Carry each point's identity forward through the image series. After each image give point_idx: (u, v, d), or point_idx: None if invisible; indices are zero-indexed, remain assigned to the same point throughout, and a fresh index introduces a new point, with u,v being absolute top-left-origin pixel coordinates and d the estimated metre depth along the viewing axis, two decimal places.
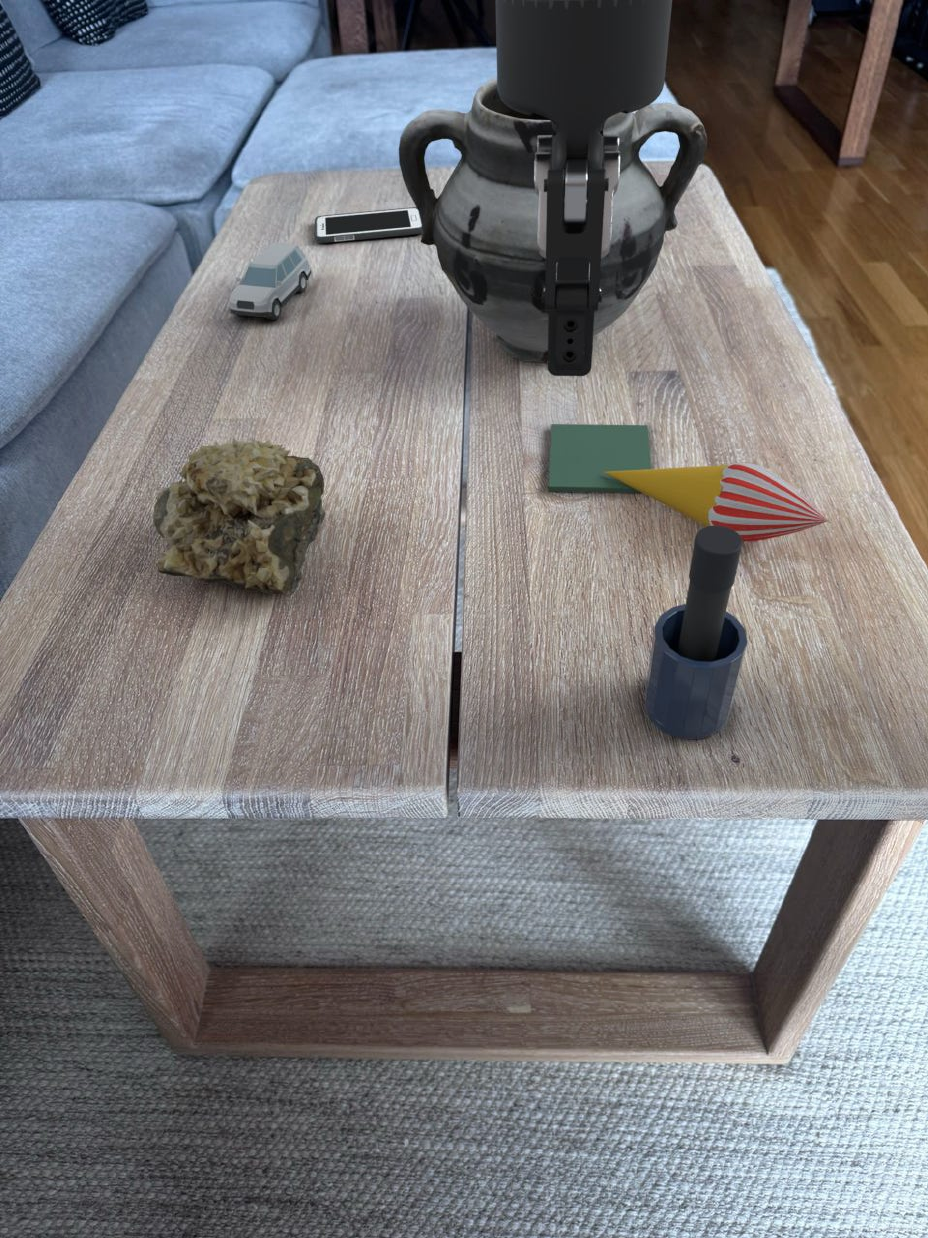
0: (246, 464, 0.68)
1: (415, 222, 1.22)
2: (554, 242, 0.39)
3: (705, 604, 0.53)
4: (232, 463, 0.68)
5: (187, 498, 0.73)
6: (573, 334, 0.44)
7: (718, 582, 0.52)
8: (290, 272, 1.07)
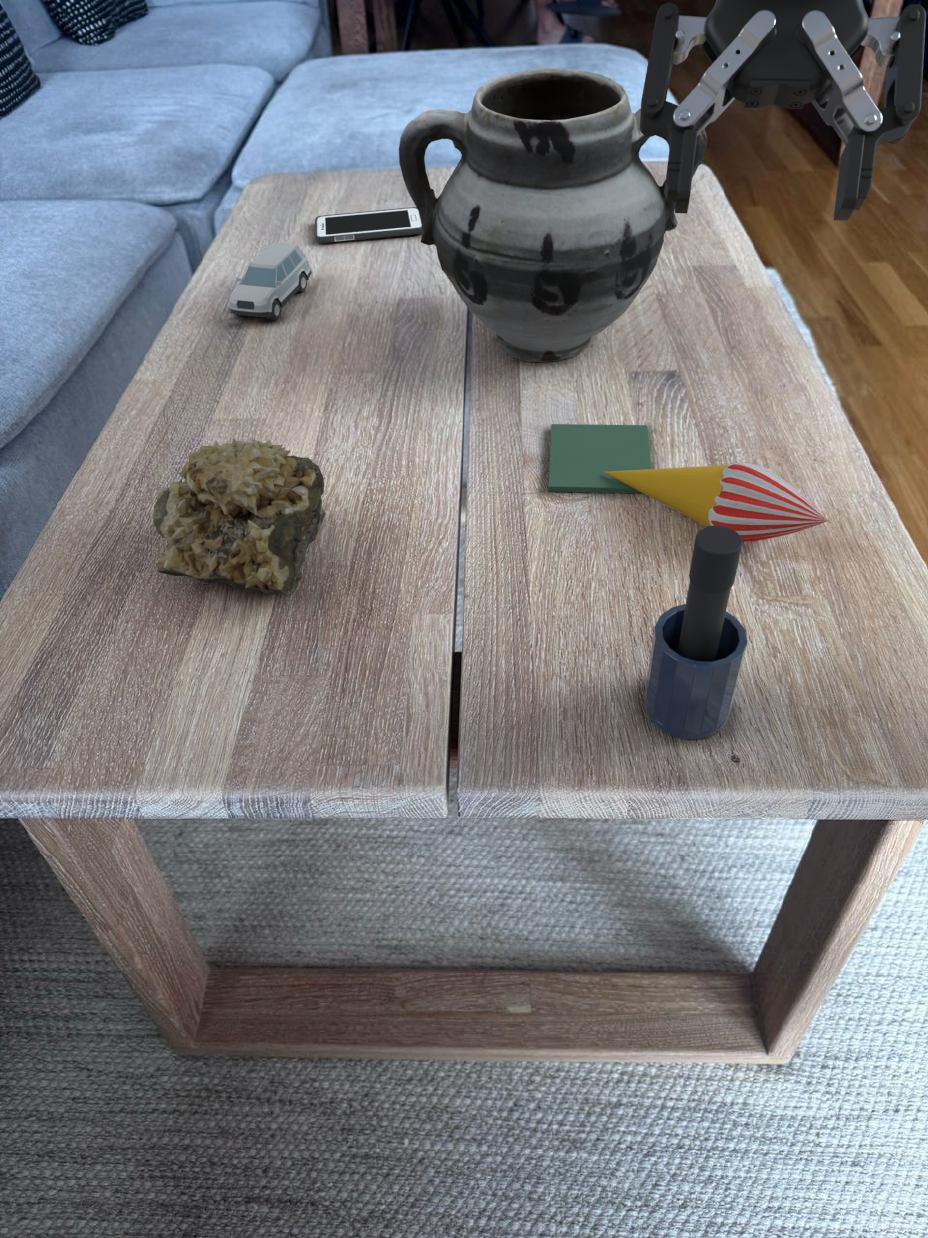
0: (246, 464, 0.68)
1: (415, 222, 1.22)
2: None
3: (705, 604, 0.53)
4: (232, 463, 0.68)
5: (187, 498, 0.73)
6: None
7: (718, 582, 0.52)
8: (290, 272, 1.07)
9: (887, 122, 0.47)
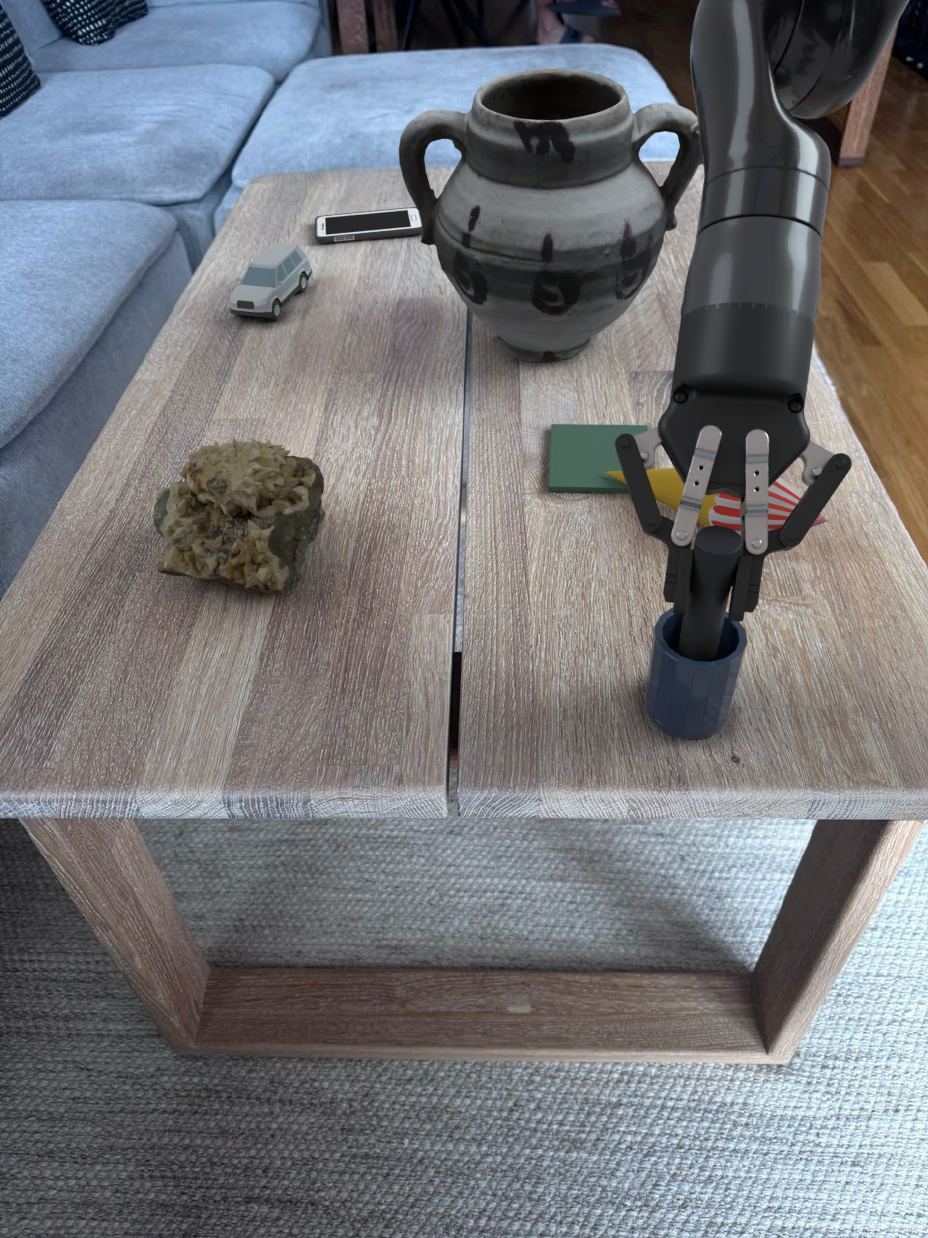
0: (246, 464, 0.68)
1: (415, 222, 1.22)
2: None
3: (705, 604, 0.53)
4: (232, 463, 0.68)
5: (187, 498, 0.73)
6: None
7: (718, 582, 0.52)
8: (290, 272, 1.07)
9: (773, 543, 0.51)
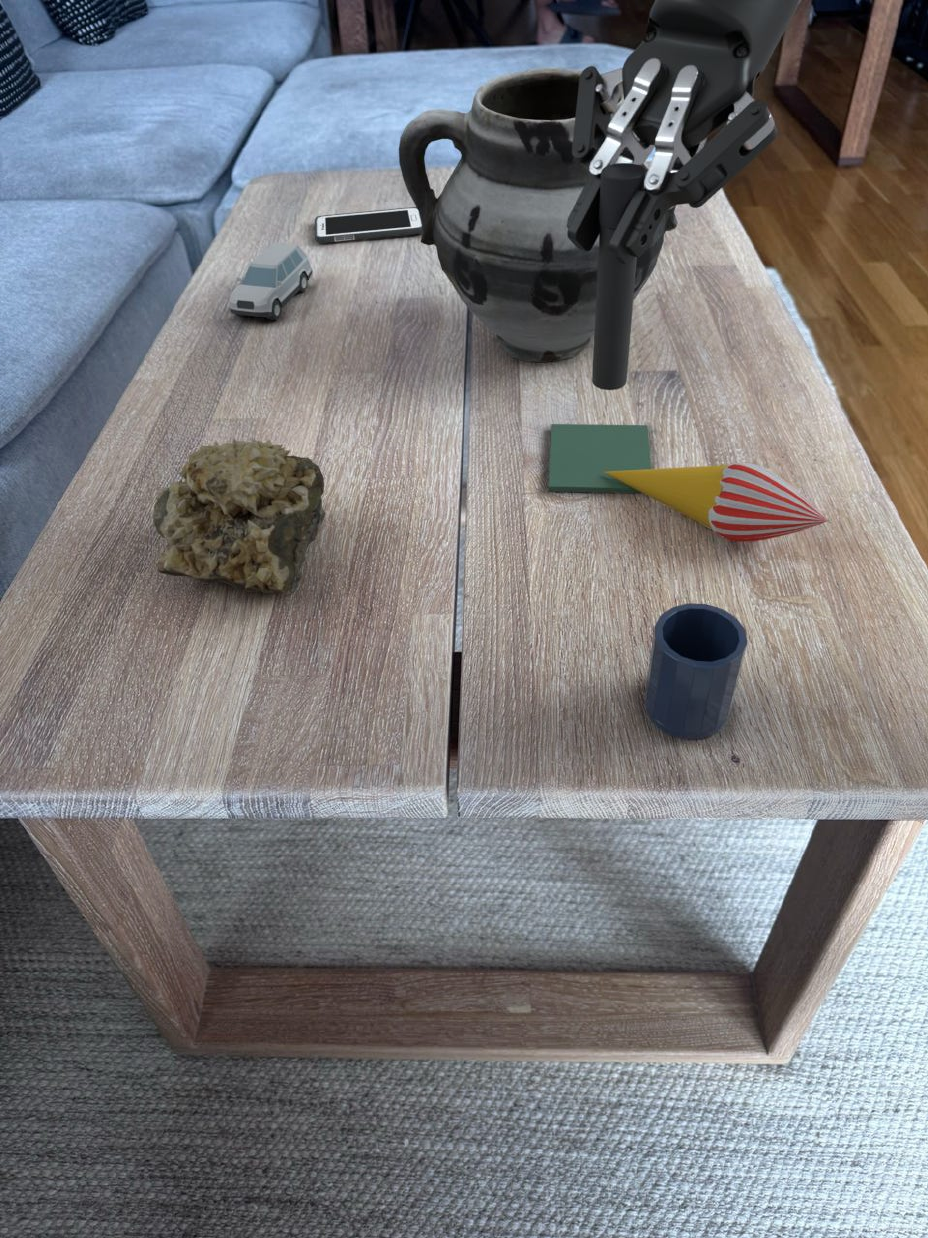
0: (246, 464, 0.68)
1: (415, 222, 1.22)
2: None
3: (604, 243, 0.56)
4: (232, 463, 0.68)
5: (187, 498, 0.73)
6: None
7: (612, 215, 0.54)
8: (291, 272, 1.07)
9: (671, 185, 0.52)
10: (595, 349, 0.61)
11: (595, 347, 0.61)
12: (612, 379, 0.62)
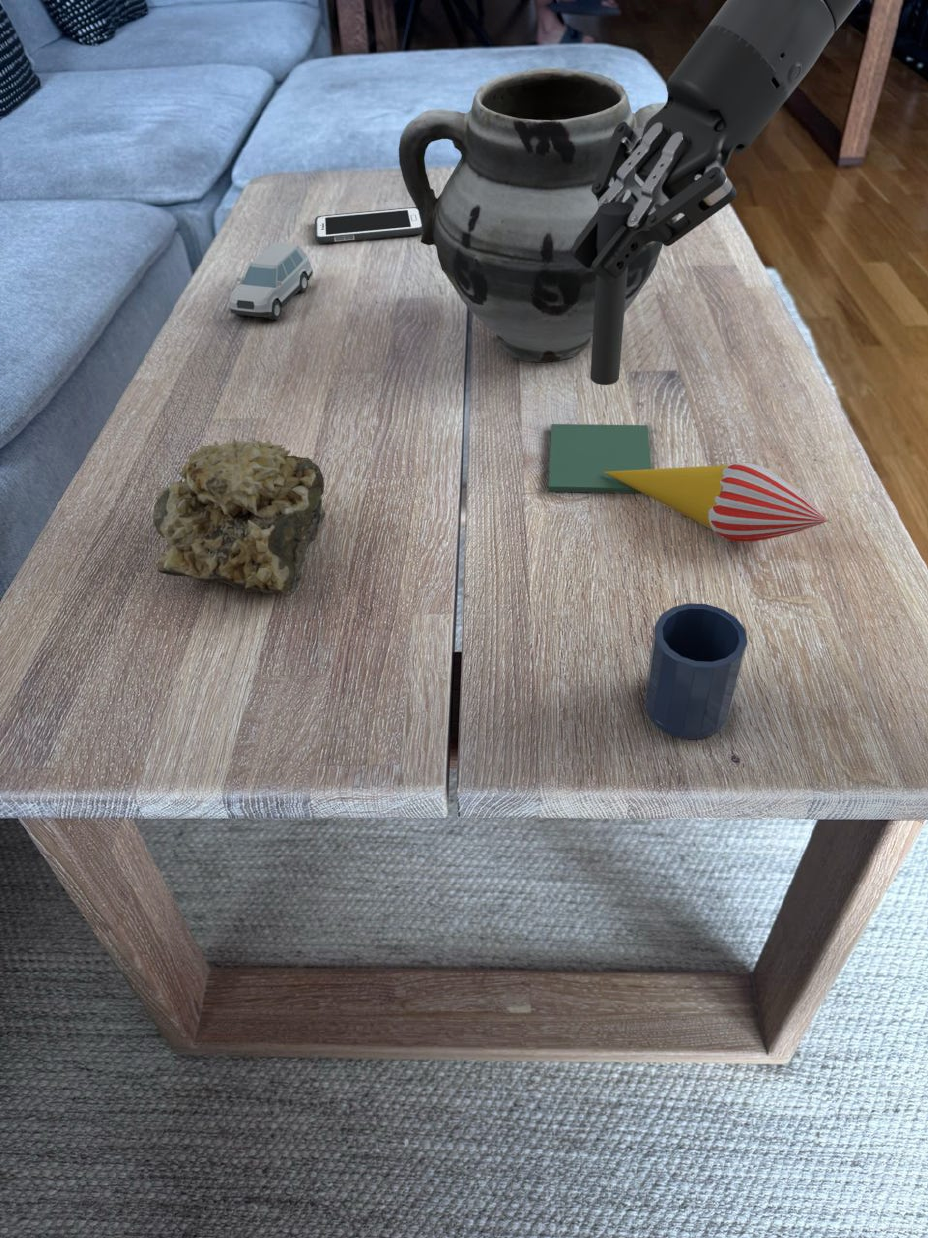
0: (246, 464, 0.68)
1: (415, 222, 1.22)
2: None
3: None
4: (232, 463, 0.68)
5: (187, 498, 0.73)
6: None
7: (602, 241, 0.68)
8: (291, 272, 1.07)
9: (646, 225, 0.65)
10: (592, 348, 0.75)
11: (592, 347, 0.75)
12: (602, 376, 0.75)
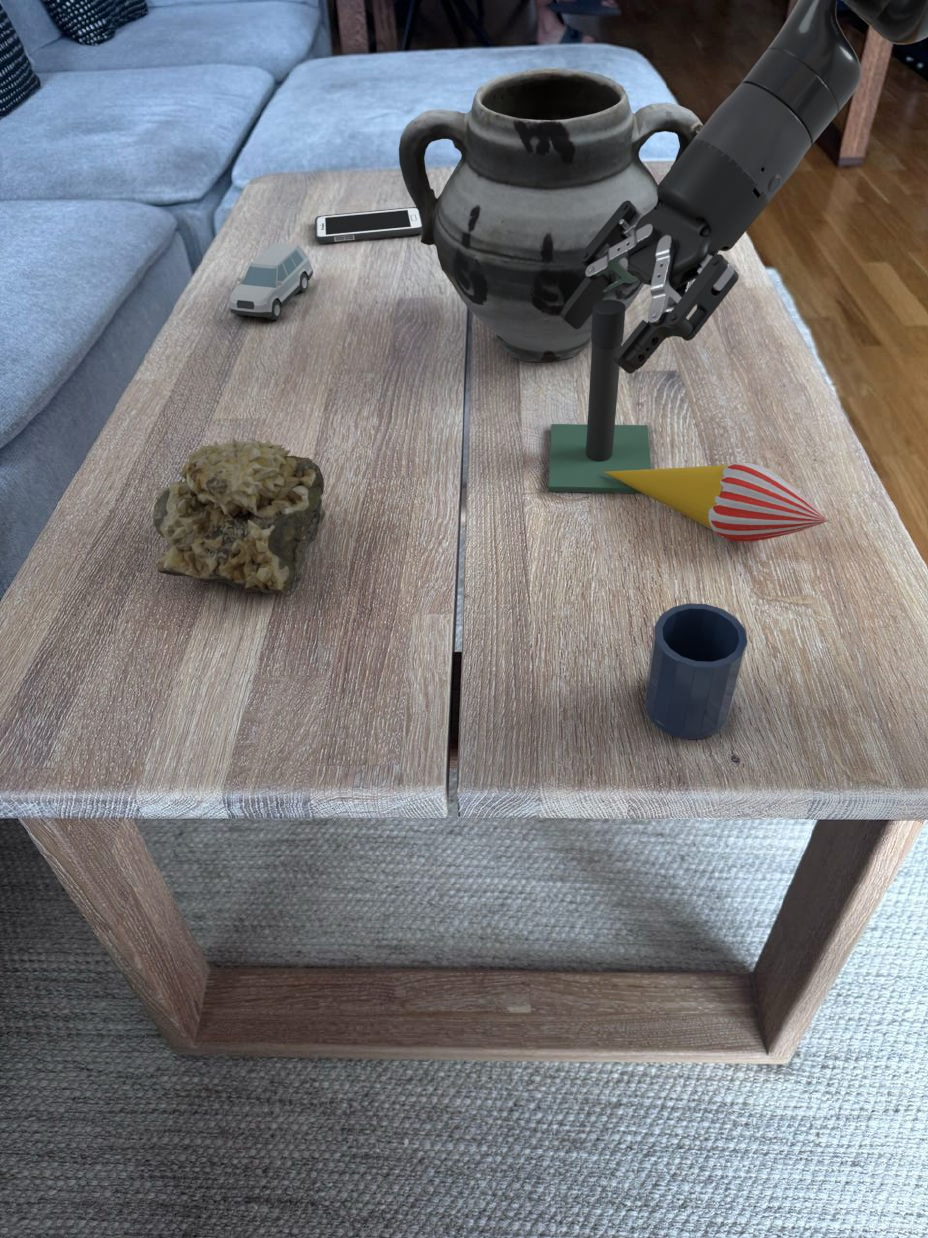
0: (246, 464, 0.68)
1: (415, 222, 1.22)
2: None
3: (592, 355, 0.75)
4: (232, 463, 0.68)
5: (187, 498, 0.73)
6: None
7: (596, 336, 0.73)
8: (291, 272, 1.07)
9: (666, 321, 0.68)
10: (587, 428, 0.80)
11: (587, 427, 0.80)
12: (596, 453, 0.81)
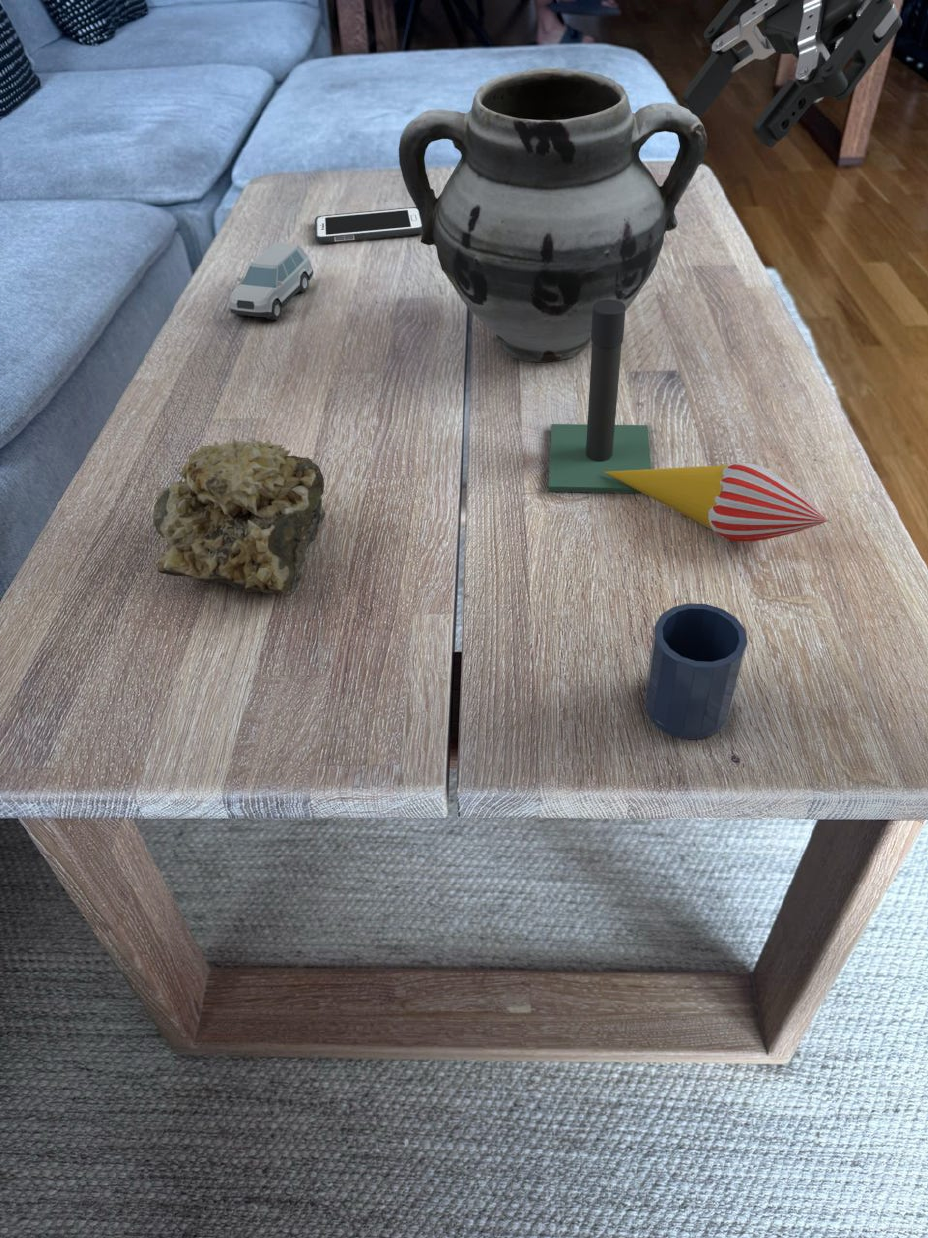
0: (246, 464, 0.68)
1: (415, 222, 1.22)
2: None
3: (592, 355, 0.75)
4: (232, 463, 0.68)
5: (187, 498, 0.73)
6: None
7: (596, 336, 0.73)
8: (291, 272, 1.07)
9: (818, 77, 0.61)
10: (587, 428, 0.80)
11: (587, 427, 0.80)
12: (596, 453, 0.81)
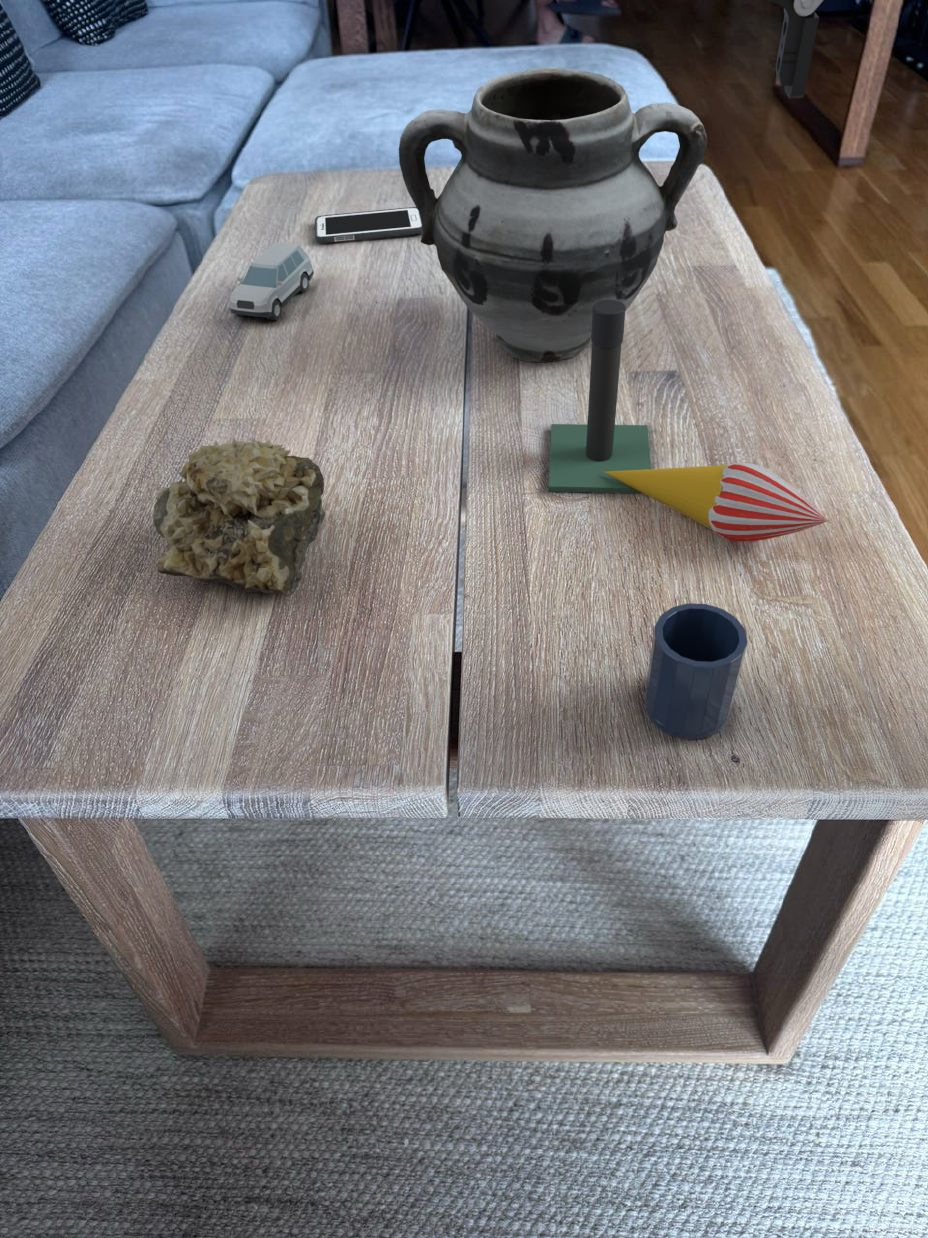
0: (246, 464, 0.68)
1: (415, 222, 1.22)
2: None
3: (592, 355, 0.75)
4: (232, 463, 0.68)
5: (187, 498, 0.73)
6: (784, 39, 0.47)
7: (596, 336, 0.73)
8: (291, 272, 1.07)
9: None
10: (587, 428, 0.80)
11: (587, 427, 0.80)
12: (596, 453, 0.81)
